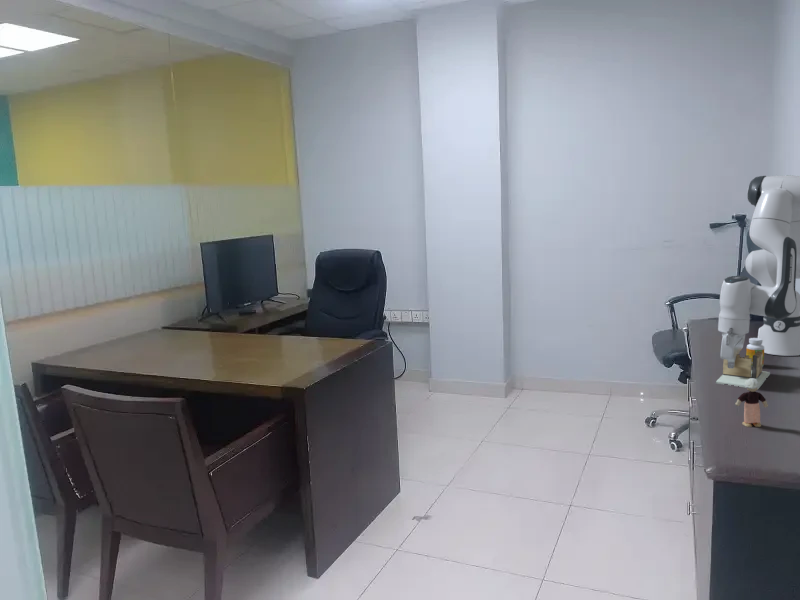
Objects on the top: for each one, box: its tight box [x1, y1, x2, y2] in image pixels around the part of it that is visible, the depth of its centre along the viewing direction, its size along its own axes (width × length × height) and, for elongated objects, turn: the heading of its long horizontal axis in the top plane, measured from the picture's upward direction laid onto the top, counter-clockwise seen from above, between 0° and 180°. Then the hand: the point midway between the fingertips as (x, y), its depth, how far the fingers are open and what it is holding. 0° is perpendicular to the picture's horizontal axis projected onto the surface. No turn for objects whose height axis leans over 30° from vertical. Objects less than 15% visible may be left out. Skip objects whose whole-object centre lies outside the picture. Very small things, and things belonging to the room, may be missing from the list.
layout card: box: [715, 369, 771, 390], centre depth 199 cm, size 20×12×1 cm, turn 140°
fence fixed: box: [751, 351, 763, 379], centre depth 200 cm, size 10×2×7 cm, turn 140°
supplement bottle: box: [745, 337, 765, 368], centre depth 212 cm, size 5×5×10 cm
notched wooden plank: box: [722, 353, 752, 377], centre depth 200 cm, size 8×2×7 cm, turn 52°
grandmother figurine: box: [734, 378, 769, 428], centre depth 159 cm, size 8×4×13 cm, turn 92°
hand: (731, 367), depth 199 cm, fingers closed
